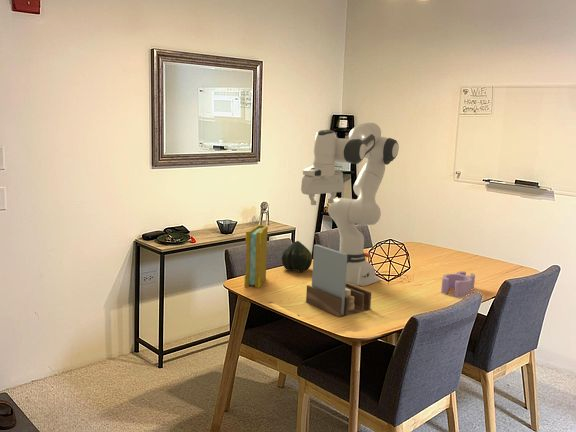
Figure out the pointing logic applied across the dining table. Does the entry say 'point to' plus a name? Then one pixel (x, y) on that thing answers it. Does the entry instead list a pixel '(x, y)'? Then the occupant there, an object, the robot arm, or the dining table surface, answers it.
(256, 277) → the book
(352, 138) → the robot arm
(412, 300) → the dining table surface
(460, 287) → the clip
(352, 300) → the offcut middle
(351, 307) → the offcut bottom
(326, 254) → the sheet
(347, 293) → the offcut top
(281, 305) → the dining table surface
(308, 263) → the squash
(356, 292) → the rack
